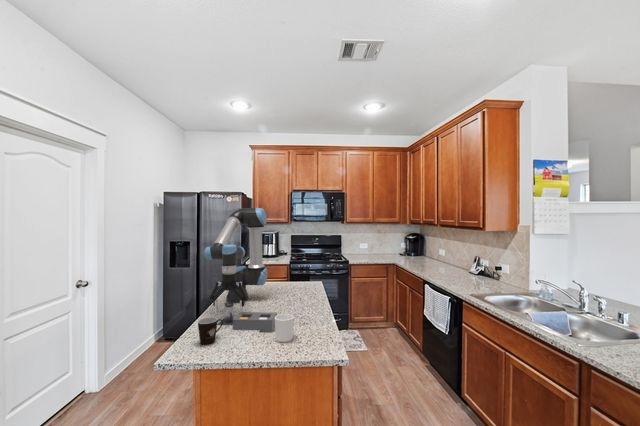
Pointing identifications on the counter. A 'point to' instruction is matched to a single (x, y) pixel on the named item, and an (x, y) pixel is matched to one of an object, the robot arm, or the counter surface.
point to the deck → (224, 323)
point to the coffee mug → (208, 330)
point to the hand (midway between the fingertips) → (228, 312)
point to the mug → (284, 327)
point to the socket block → (255, 321)
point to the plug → (229, 312)
